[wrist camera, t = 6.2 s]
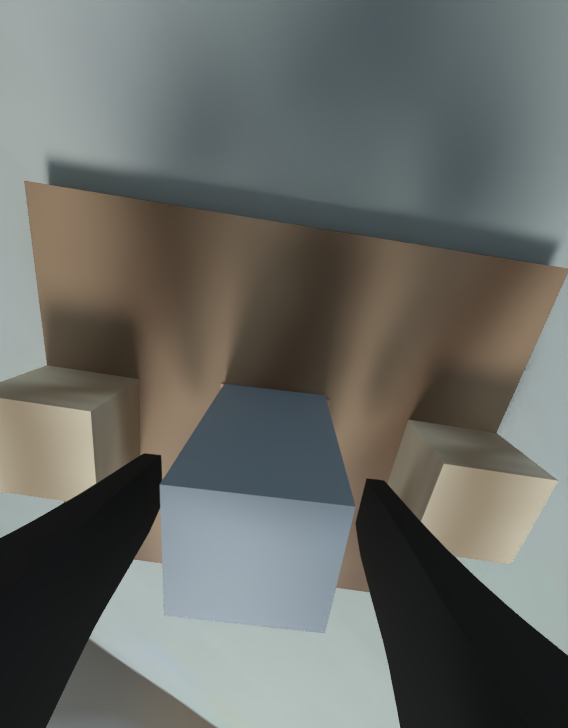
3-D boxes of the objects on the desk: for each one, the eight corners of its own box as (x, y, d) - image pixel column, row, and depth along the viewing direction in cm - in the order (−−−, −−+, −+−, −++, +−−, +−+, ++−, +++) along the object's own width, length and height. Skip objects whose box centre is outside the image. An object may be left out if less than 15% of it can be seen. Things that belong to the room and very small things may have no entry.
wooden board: (545, 269, 11) (679, 265, 7) (414, 580, 17) (450, 672, 13) (48, 189, 11) (-88, 140, 7) (83, 534, 16) (18, 613, 12)
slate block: (325, 395, 12) (355, 506, 6) (310, 478, 13) (325, 633, 7) (224, 383, 12) (159, 484, 6) (220, 468, 13) (164, 615, 7)
